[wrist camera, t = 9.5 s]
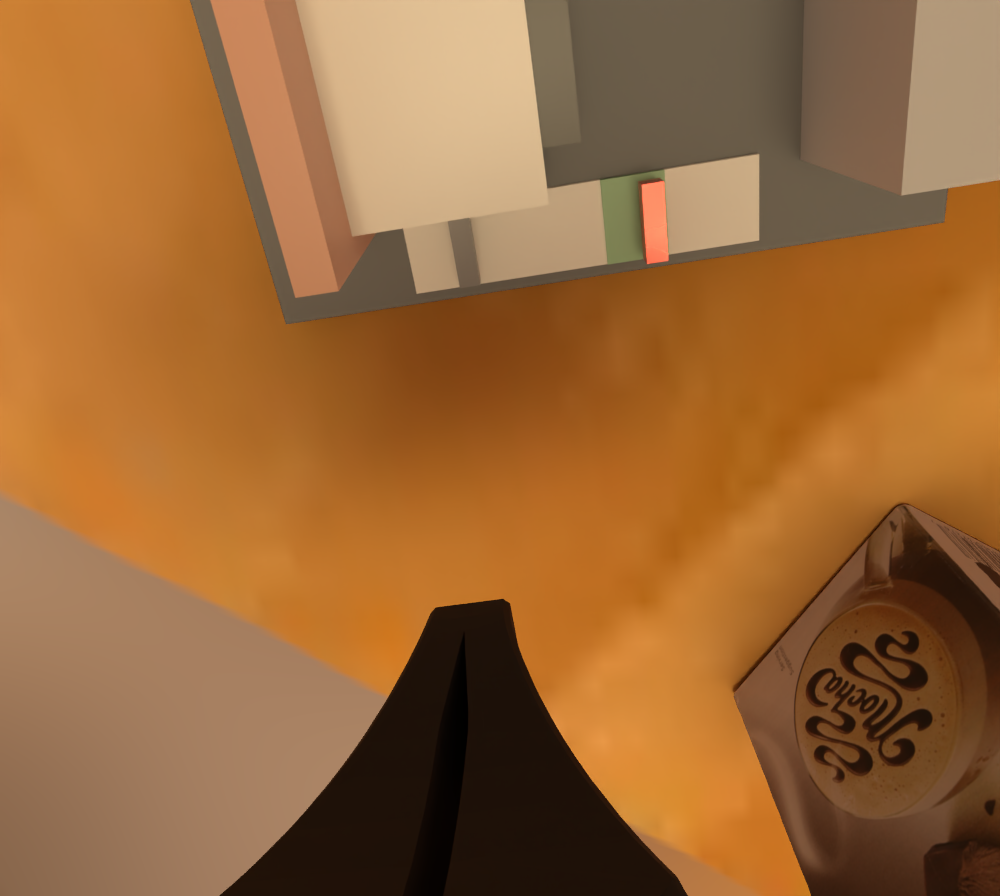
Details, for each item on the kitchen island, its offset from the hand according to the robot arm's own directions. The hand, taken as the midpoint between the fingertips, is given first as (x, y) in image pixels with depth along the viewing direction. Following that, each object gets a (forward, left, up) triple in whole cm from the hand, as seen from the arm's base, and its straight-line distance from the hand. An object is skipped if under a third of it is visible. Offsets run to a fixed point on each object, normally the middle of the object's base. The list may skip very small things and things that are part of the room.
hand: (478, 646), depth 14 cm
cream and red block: (0, -8, -8) cm, 12 cm away
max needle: (-5, -5, -8) cm, 11 cm away
